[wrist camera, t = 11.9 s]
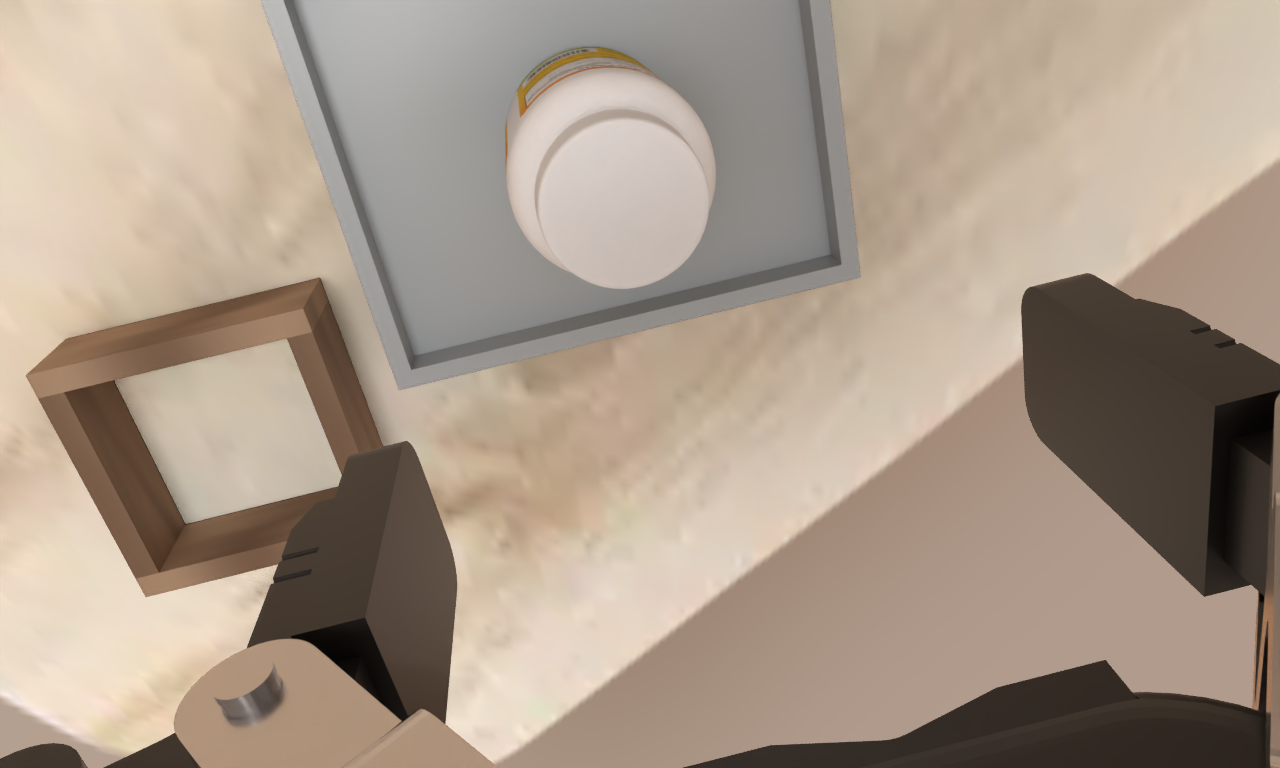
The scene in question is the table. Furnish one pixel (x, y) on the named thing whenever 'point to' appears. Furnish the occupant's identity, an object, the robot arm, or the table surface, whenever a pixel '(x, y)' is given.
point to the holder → (122, 464)
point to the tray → (476, 163)
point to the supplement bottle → (607, 168)
